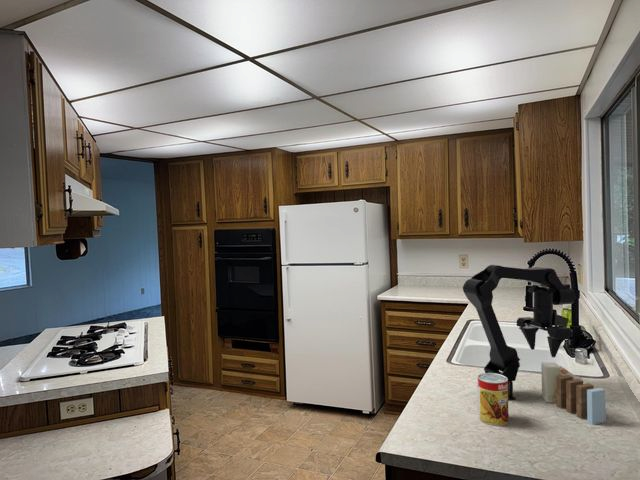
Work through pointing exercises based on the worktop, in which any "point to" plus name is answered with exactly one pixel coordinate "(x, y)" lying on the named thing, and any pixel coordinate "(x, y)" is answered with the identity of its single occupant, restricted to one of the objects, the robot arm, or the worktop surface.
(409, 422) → the worktop surface
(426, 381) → the worktop surface
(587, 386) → the domino
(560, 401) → the domino
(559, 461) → the worktop surface
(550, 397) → the box
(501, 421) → the canned food
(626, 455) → the worktop surface
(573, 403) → the domino
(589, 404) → the domino
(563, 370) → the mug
